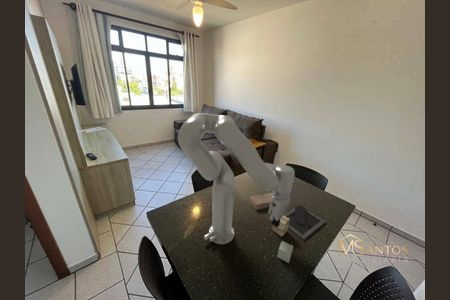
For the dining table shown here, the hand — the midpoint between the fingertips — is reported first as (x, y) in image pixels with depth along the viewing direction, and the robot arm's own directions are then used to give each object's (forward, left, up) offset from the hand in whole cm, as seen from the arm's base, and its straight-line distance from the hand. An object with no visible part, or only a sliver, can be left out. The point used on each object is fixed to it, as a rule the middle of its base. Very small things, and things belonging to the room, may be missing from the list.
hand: (275, 225), depth 84 cm
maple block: (+6, 0, -8) cm, 10 cm away
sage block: (-5, -9, -8) cm, 13 cm away
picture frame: (+21, -5, -8) cm, 23 cm away
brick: (+18, +18, -8) cm, 27 cm away
